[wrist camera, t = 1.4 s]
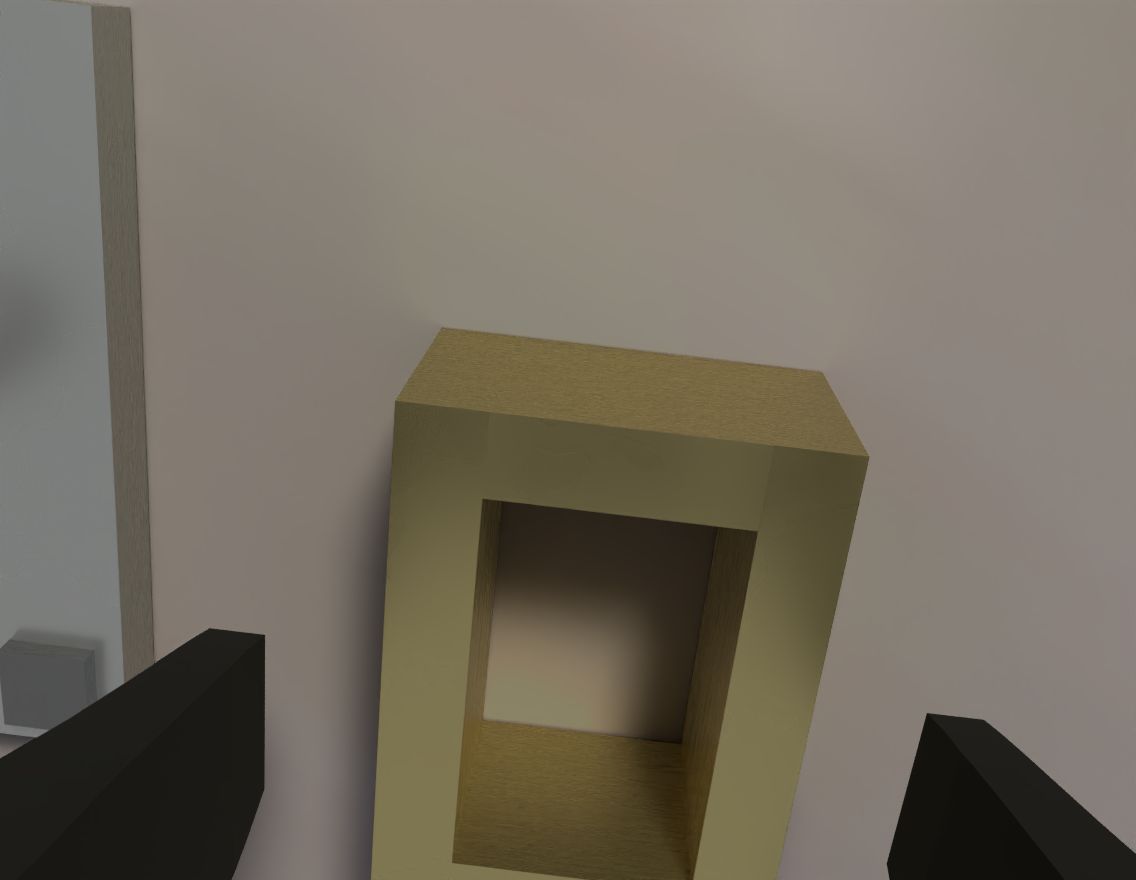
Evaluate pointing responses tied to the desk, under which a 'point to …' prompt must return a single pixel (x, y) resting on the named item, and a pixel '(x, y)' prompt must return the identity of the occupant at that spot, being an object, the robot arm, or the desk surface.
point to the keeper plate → (69, 366)
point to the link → (623, 487)
